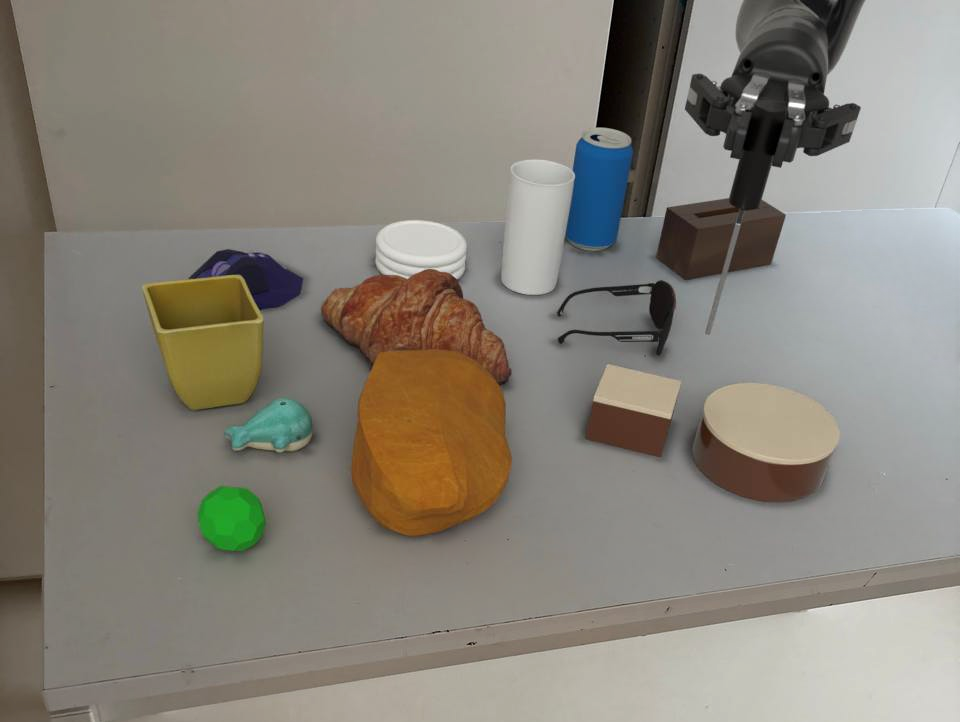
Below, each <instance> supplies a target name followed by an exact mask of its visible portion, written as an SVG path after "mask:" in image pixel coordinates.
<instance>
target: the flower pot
mask: <svg viewBox="0 0 960 722" xmlns="http://www.w3.org/2000/svg"><path fill="white" fill-rule="evenodd" d="M141 290H142V295H143V297H144V301H145V305H146V309H147V312H148V316H149V319H150V324H151V327H152V331H153V334H154V337H155V340H156V343H157V346H158V348H159V352H160V354H161V356H162V359H163V363H164V365H165V369H166V372H167V376H168V378H169V381H170V383H171V385H172V388H173V389H174V391H175V393H176V394H177V396H178V397H179V399H180V400H181V401H182V403H184V405H185V406H186V407H187V408H188V409H189V410H191V411H196V410H203V409H212V408H219V407H225V406H232V405H240V404H244V403H247V401H248V400H249V399H250V397H251V396H252V395H253V393H254V391H255V390H256V387H257V385H258V383H259V380H260V378H261V372H262V367H263V351H264V349H263V348H264V327H265V325H264V324H265V323H264V322H265V318H264V316H263V313H262V312H261V311H260V309H258V307H257V305H256V303H255V302H254V300H253V298H252V296H251V293H250V291H249V289H248V287H247V285H246V282H245V280H244V278H243V277H242V276H241V275H227V276H217V277H208V278H198V279H189V278H187V279H178V280H167V281H158V282H149V283H143V284H142V285H141Z"/></svg>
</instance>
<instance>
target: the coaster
mask: <svg viewBox="0 0 960 722" xmlns="http://www.w3.org/2000/svg"><path fill="white" fill-rule="evenodd" d="M375 246H376V247H375V250H374V251H375V259H374V262H375V266H376V268H377V270H378V272H380V274H381V275H398V276H401V277H404V278H406V279H408V278H409V277H411V276H412V275H414V274H416V273H419V272H421V271H423V270H426V269H435V270H438V271H440V272H447V273H449V274H451V275H452V276H454V277H455V278H456V279H457V280H458V281H459V279H461V278H462V277H463V275H464V273H465V271H466V260H467V254H466V252H467V250H468V244H467V241H466V238H465V237H464V236H463V235H462V234H461V233H460V232H459V231H457V230H456V229H454V228H453V227H451V226H448V225H447V224H443V223H441V222H436V221H431V220H424V219H423V220H421V219H409V220H400V221H396V222H392V223H390V224H387V225H385V226H384V227H383V228H381V229H380V230H379V231H378V232H377V234H376V237H375Z"/></svg>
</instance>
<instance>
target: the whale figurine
mask: <svg viewBox="0 0 960 722" xmlns="http://www.w3.org/2000/svg"><path fill="white" fill-rule="evenodd" d="M313 430H314V429H313V420H312V416H311V414H310V412H309V410H308V409H307V408H306V407H305V406H304V405H303V404H302V403H300V402H299V401H297V400H295V399H293V398H288V397H279V398H277V399H275V400H273V401H272V402H270V403H268V405H265V407H264V408H262V409H259V410H257V411H256V414H254V415H253V416H252V417H251V418H250V419H249V420H247V422H246V423H245V424H243V425H231V426H229V427H227V428H226V429H225V431H224V436H225V437H226V438H227V440H229V441H230V446H231V449H232V450H233V451H237V452H238V451H242V450H244V449H247V448H253V449H257V450H264V451H275V452H276V453H281V454H282V453H284V452H295V451H298V450H301V449H303V448H304V447H305V446H306V445H308V444H309V442H310V441H311V439H312V437H313Z"/></svg>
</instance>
